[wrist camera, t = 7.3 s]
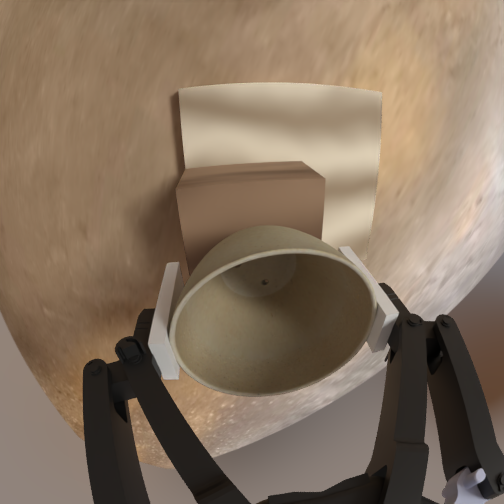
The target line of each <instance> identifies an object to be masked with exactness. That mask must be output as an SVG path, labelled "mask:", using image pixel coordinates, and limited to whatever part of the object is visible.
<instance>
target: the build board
mask: <svg viewBox="0 0 504 504" xmlns="http://www.w3.org/2000/svg"><path fill="white" fill-rule="evenodd" d="M178 90H179V104H180V117H181V129H182V140H183V150H184V160H185V169H189V168H198V167H208V166H218V165H230V164H244V163H260V162H283V161H302V162H304V163H305V164H306V165H308V166H309V167H311V168H312V169H313V170H315V171H316V172H317V173H319V174H320V175H321V176H323V177H324V178H325V179H326V182H325V201H324V216H323V229H322V241H323V242H325V243H327V244H328V245H330V246H332V247H333V248H335V249H336V250H337V251H338V247H345V246H349V247H350V248H351V249H352V251H353V252H354V253H355V254H356V256H357V257H358V258H359V259H360V260H366V256H367V251H368V245H369V239H370V233H371V227H372V220H373V213H374V206H375V198H376V190H377V181H378V170H379V159H380V144H381V124H382V92H377V91H371V90H365V89H358V88H350V87H342V86H332V85H321V84H306V83H275V82H264V83H233V84H218V85H207V86H197V87H189V88H181V89H178Z"/></svg>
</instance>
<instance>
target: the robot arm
mask: <svg viewBox="0 0 504 504" xmlns="http://www.w3.org/2000/svg"><path fill="white" fill-rule="evenodd" d="M338 251H339V252H340V253H342V254H343V255H344V256H346V257H347V258H348V259H349V260H350V261H352V262H353V263H354V264H355V265H356V266H357V267H358V268H359V269H360V270H361V271H362V272H363V273H364V274H365V275H366V277H367V278H368V279H369V281H370V283H371V285H372V287H373V289H374V293H375V296H376V302H377V313H376V318H375V321H374V324H373V327H372V330H371V332H370V335H369V337H368V338H367V340H366V341H367V343H368V345H369V347H370V349H371V351H372V353H373V352H377V351H381V350H384V349H385V347H386V345H387V342H388V344H389V346H390V349H389V352H388V354H387V356H386V358H385V362H386V361H387V359H388V363H387V372H386V382H385V389H384V396H383V403H382V410H381V415H380V422H379V427H378V432H377V437H376V441H375V446H374V450H373V455H372V458H371V461H370V463H369V465H368V467H367V469H366V472H365V474H362V475H359V476H356V477H353V478H349V479H346V480H344V481H342V482H340V483H338V484H336V485H334V486H333V487H331V488H329V489H327V490H325V491H322V492H291V493H285V494H279V495H271V496H268V499H266V500H263V501H261V502H259V503H257V504H438V503H436V502H434V501H432V500H430V499H428V498H425V497H423V496H422V492H423V486H424V481H425V475H426V469H427V462H428V454H429V447H428V445H427V444H425V443H424V436H425V424H426V408H427V382H428V386H429V390H430V395H431V399H432V403H433V408H434V413H435V418H436V424H437V429H438V435H439V441H440V449H441V456H442V464H443V470H444V474H445V477H446V480H447V484H446V486H445V488H444V489H443V491H442V496H443V497H444V498H446V499H445V503H444V504H484V503H485V502H486V501H488V500H490V499H493V498H495V497H497V496H499V495H501V494H503V493H504V455H503V453H502V451H501V450H500V448H499V446H498V444H497V442H496V438H495V433H494V429H493V425H492V421H491V417H490V413H489V410H488V407H487V403H486V400H485V397H484V393H483V390H482V387H481V384H480V381H479V378H478V376H477V373H476V370H475V368H474V365H473V362H472V360H471V357H470V355H469V352H468V350H467V348H466V345H465V343H464V340H463V338H462V336H461V334H460V331H459V329H458V327H457V325H456V323H455V321H454V320H453V318H451V317H450V316H448V315H444V314H442V315H439V316H437V318H436V320H435V321H423V319H422V318H421V317H420V316H418V315H416V314H410V312H409V311H408V310H407V308H406V307H405V306H404V304H403V303H402V302H401V300H400V299H398V296H397V295H396V294H395V292H394V291H393V290H392V288H391V287H389V286H388V285H386V284H385V283H379V284H378V283H377V282H376V280H375V279H374V278H373V276H372V275H371V274H370V272H369V271H368V270H367V268H366V267H365V266H364V265H363V263H362V262H361V261H360V259H359V258H358V257H357V256H356V254H355V253H354V252H353V251H352V249H351V248H350V247H349V246H345V247H338ZM183 288H184V283H183V278H182V274H181V269H180V264H179V262H170V263H167V265H166V269H165V273H164V276H163V280H162V284H161V288H160V292H159V296H158V300H157V305H156V308H154V309H144V310H143V311H142V312H141V313H140V315H139V317H138V320H137V324H136V328H135V331H134V335H133V336H129V337H125V338H123V339H121V340H120V341H119V342H118V343H117V344H116V347H115V352H116V354H117V356H118V358H119V361H116V362H113V363H109V364H106V363H105V362H104V361H103V360H101V359H94V360H91V361H89V362H88V363H87V364H86V365H85V367H84V370H83V420H84V436H85V448H86V457H87V465H88V472H89V479H90V485H91V490H92V496H93V500H94V504H150V501H149V498H148V494H147V491H146V488H145V484H144V480H143V477H142V472H141V468H140V465H139V460H138V456H137V451H136V446H135V441H134V436H133V431H132V425H131V420H130V413H129V407H128V400H129V399H133V398H136V397H137V399H138V401H139V404H140V406H141V408H142V410H143V412H144V414H145V416H146V418H147V420H148V422H149V423H150V425H151V427H152V429H153V431H154V433H155V435H156V436H157V438H158V440H159V442H160V444H161V445H162V447H163V449H164V450H165V452H166V454H167V455H168V457H169V459H170V460H171V462H172V464H173V465H174V467H175V468H176V470H177V471H178V473H179V474H180V476H181V477H182V479H183V480H184V482H185V483H186V485H187V486H188V488H189V489H190V491H191V492H192V494H193V496H194V498H195V500H196V501H197V503H198V504H251V503H250V502H249V501H248V500H247V499H246V498H245V497H244V496H243V494H242V493H241V492H240V491H239V490H238V489H237V487H236V486H235V485H234V484H233V483H232V482H231V481H230V480H229V478H228V477H227V476H226V475H225V474H224V473H223V471H222V470H221V469H220V468H219V466H218V465H217V464H216V462H215V461H214V460H213V458H212V457H211V456H210V454H209V453H208V452H207V450H206V449H205V448H204V446H203V445H202V443H201V442H200V441H199V439H198V438H197V436H196V435H195V433H194V432H193V430H192V429H191V427H190V426H189V424H188V423H187V421H186V420H185V418H184V417H183V415H182V414H181V412H180V411H179V409H178V407H177V406H176V404H175V403H174V401H173V399H172V398H171V396H170V394H169V393H168V391H167V389H166V387H165V386H164V384H163V382H162V380H161V374H162V376H163V378H164V380H171V379H179V370H180V366H179V364H178V363H177V361H176V359H175V356H174V353H173V351H172V348H171V345H170V342H169V330H170V324H171V320H172V316H173V313H174V310H175V307H176V304H177V301H178V299H179V297H180V295H181V293H182V290H183Z"/></svg>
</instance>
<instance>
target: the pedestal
mask: <svg viewBox="0 0 504 504" xmlns="http://www.w3.org/2000/svg"><path fill="white" fill-rule="evenodd" d="M325 182H326V179H325V178H324V177H323V176H321V175H320V174H319V173H317V172H316V171H315V170H313V169H312V168H311V167H309V166H308V165H306V164H305V163H304V162H302V161H283V162H260V163H244V164H230V165H218V166H208V167H198V168H189V169H185V171H184V173H183V175H182V177H181V179H180V181H179V183H178V185H177V187H176V189H175V191H176V198H177V205H178V211H179V218H180V224H181V230H182V236H183V242H184V248H185V253H186V259H187V264H188V269H189V275H190V276H191V274H192V273H193V271H194V270H195V268H196V267H197V265H198V264H199V263H200V261H201V260H202V259H203V258H204V257H205V256H206V255H207V253H208V252H209V251H210V250H211V249H212V248H214V247H215V246H216V245H217V244H218V243H220V242H221V241H222V240H224V239H225V238H227V237H228V236H230V235H232V234H234V233H236V232H238V231H240V230H243V229H246V228H250V227H255V226H264V225H274V226H283V227H288V228H292V229H296V230H299V231H301V232H304V233H307V234H309V235H312V236H314V237H316V238H318V239H320V240H322V229H323V216H324V201H325ZM236 267H239V265H237V266H236ZM265 281H266V282H268V280H265Z"/></svg>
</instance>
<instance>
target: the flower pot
mask: <svg viewBox="0 0 504 504" xmlns="http://www.w3.org/2000/svg"><path fill="white" fill-rule="evenodd" d="M237 265H239V267H236V266H237ZM265 280H268V282H266V281H265ZM376 313H377V302H376V296H375V293H374V289H373V287H372V285H371V283H370V281H369V279H368V278H367V277H366V275H365V274H364V273H363V272H362V271H361V270H360V269H359V268H358V267H357V266H356V265H355V264H354V263H353V262H352V261H350V260H349V259H348V258H347V257H346V256H344V255H343V254H342V253H340V252H339V251H337V250H336V249H335V248H333V247H332V246H330V245H328V244H327V243H325V242H323V241H322V240H320V239H318V238H316V237H314V236H312V235H309V234H307V233H304V232H301V231H299V230H296V229H292V228H288V227H283V226H274V225H264V226H255V227H250V228H246V229H243V230H240V231H238V232H236V233H234V234H232V235H230V236H228V237H227V238H225V239H224V240H222V241H221V242H220V243H218V244H217V245H216V246H215V247H214V248H212V249H211V250H210V251H209V252H208V253H207V255H206V256H205V257H204V258H203V259H202V260H201V261H200V263H199V264H198V265H197V267H196V268H195V270H194V271H193V273H192V274H191V276H190V277H189V279H188V281H187V282H186V284H185V286H184V288H183V290H182V293H181V295H180V297H179V299H178V301H177V304H176V307H175V310H174V313H173V316H172V320H171V324H170V330H169V342H170V345H171V348H172V351H173V353H174V356H175V359H176V361H177V363H178V364H179V366H180V367H181V368H182V369H183V370H184V371H185V372H186V373H187V374H188V375H189V376H190V377H191V378H193V379H194V380H196V381H197V382H199V383H200V384H202V385H204V386H206V387H208V388H211V389H213V390H216V391H219V392H222V393H226V394H231V395H236V396H247V397H261V396H273V395H280V394H285V393H289V392H293V391H296V390H300V389H303V388H305V387H308V386H310V385H313V384H315V383H317V382H319V381H321V380H323V379H325V378H326V377H328V376H330V375H331V374H333V373H334V372H336V371H337V370H339V369H340V368H341V367H343V366H344V365H345V364H346V363H348V362H349V361H350V360H351V359H352V358H353V357H354V356H355V355H356V354H357V353H358V351H359V350H360V349H361V348H362V346H363V345H364V343H365V342H366V340H367V338H368V337H369V335H370V332H371V330H372V327H373V324H374V321H375V318H376Z"/></svg>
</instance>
